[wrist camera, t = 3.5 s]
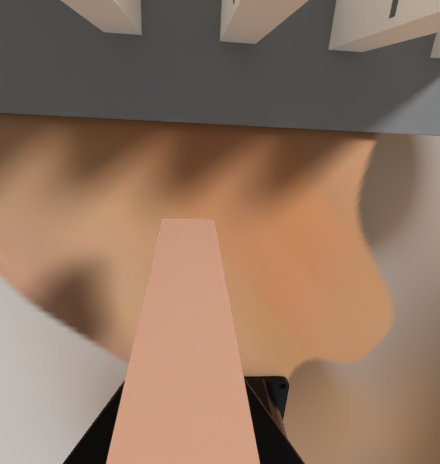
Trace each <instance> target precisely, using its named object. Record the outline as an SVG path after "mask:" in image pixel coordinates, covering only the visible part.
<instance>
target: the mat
mask: <svg viewBox="0 0 440 464" xmlns="http://www.w3.org/2000/svg"><path fill="white" fill-rule="evenodd" d="M335 5H336V0H309V1H307V2H306V3H305V4H304V5H302V6H301V7H300V8H299V9H298V10H296V11H295V12H294V13H293V14H291V15H290V16H289V17H288V18H287V19H285V20H284V21H283V22H282V23H280V24H279V25H278V26H277V27H276V28H274V29H273V30H272V31H271V32H269V33H268V34H267V35H266V36H265V37H263V38H262V39H261V40H260V41H258V42H257V43H256V44H249V43H236V42H223V41H220V27H221V7H222V0H141V27H142V35H133V34H120V33H107V32H103V31H101V30H100V29H99V28H97V27H96V26H95V25H93V24H92V23H91V22H89V21H88V20H87V19H85V18H84V17H82V16H81V15H80V14H78V13H77V12H76V11H74V10H73V9H72V8H70V7H69V6H68V5H66V4H65V3H64V2H62V1H61V0H0V113H15V114H34V115H53V116H72V117H91V118H110V119H129V120H148V121H167V122H186V123H205V124H224V125H243V126H262V127H281V128H300V129H319V130H338V131H357V132H376V133H395V134H414V135H433V136H440V58H430V56H431V52H432V48H433V45H434V41H435V37H436V33H433V34H430V35H426V36H422V37H418V38H414V39H410V40H407V41H403V42H399V43H395V44H391V45H387V46H384V47H380V48H376V49H372V50H368V51H364V52H352V51H339V50H328V49H329V43H330V36H331V30H332V24H333V18H334V11H335Z"/></svg>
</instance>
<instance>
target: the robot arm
mask: <svg viewBox="0 0 440 464" xmlns="http://www.w3.org/2000/svg"><path fill="white" fill-rule="evenodd" d="M244 381H245V387H246V392H247V397H248V403H249V408H250V413H251V419H252V424H253V429H254V434H255V440H256V445H257V450H258V456H259V461H260V464H305V463H304V462H303V460H302V459H301V457H300V456H299V455H298V453H297V452H296V450H295V449H294V448H293V446H292V445H291V443H290V442H289V441H288V438H287V435H286V431H285V428H284V424H283V417H284V412H285V406H286V400H287V395H288V390H289V383H288V380H287V378H285V377H244ZM124 383H125V381H124V382H123V384H122V385H121V386H120V387H119V389H118V390H117V391H116V393H115V394H114V395H113V397H112V398H111V399H110V401H109V402H108V403H107V405H106V406H105V408H104V409H103V410H102V412H101V413H100V414H99V416H98V417H97V418H96V420H95V421H94V422H93V424H92V425H91V427H90V428H89V429H88V430H87V432H86V433H85V434H84V436H83V437H82V439H81V440H80V441H79V443H78V444H77V445H76V447H75V448H74V449H73V451H72V452H71V454H70V455H69V456H68V457H67V459H66V460H65V461H64V463H63V464H106V462H107V457H108V453H109V448H110V444H111V440H112V435H113V431H114V427H115V422H116V418H117V414H118V409H119V405H120V400H121V396H122V392H123V387H124Z"/></svg>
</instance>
